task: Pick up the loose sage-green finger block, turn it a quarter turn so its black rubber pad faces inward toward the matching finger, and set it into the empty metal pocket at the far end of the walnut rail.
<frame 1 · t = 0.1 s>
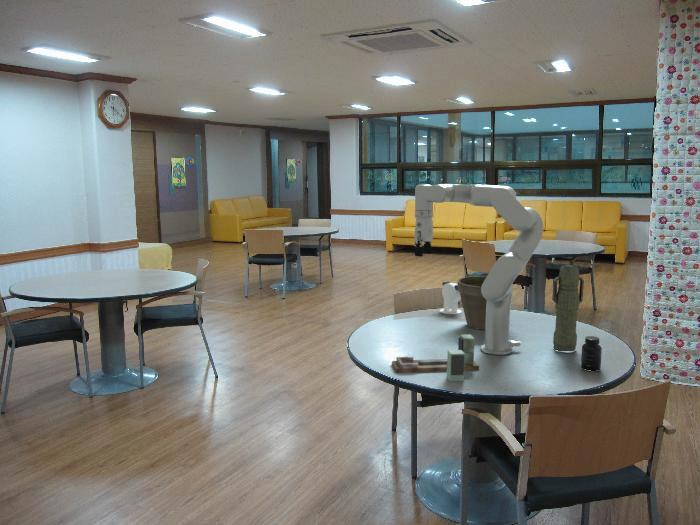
hand: (423, 254, 250), 37 cm above the table, tool pointing down, fingers open, 9 cm apart
finger rail: (434, 367, 221), on the table
thermos: (564, 350, 242), on the table
plant pot: (482, 326, 278), on the table
loose finger: (455, 379, 209), on the table
supplement bottle: (590, 369, 220), on the table
white rounded piece: (451, 312, 306), on the table
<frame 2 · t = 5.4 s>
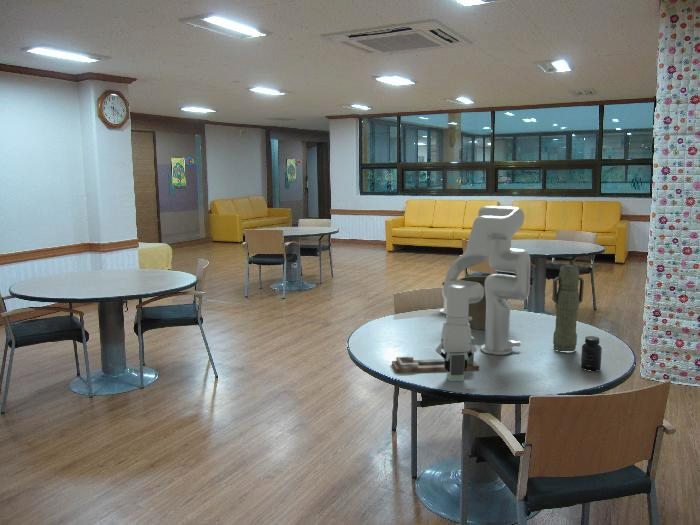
hand: (455, 369, 208), 3 cm above the table, tool pointing down, fingers closed on loose finger, 5 cm apart
loose finger: (455, 379, 209), on the table, touching gripper
everything else where it was.
when the fingers open (6 cm above the table, at t = 11.4 s): loose finger stays where it is, resting on finger rail.
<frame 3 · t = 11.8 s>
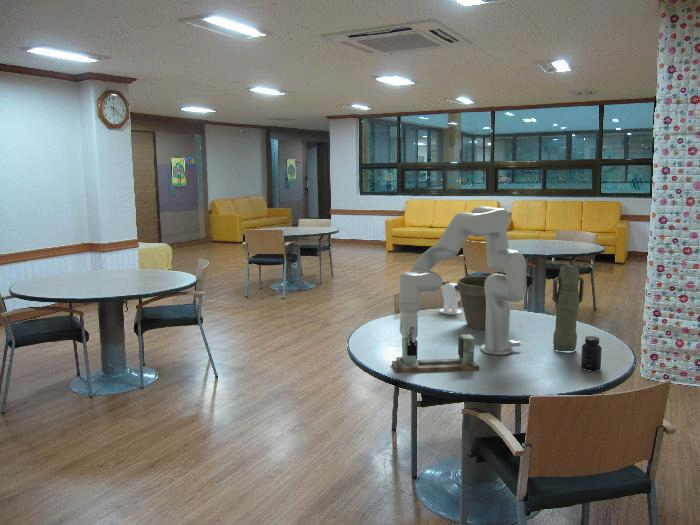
hand: (408, 351, 219), 6 cm above the table, tool pointing down, fingers open, 8 cm apart
loose finger: (408, 364, 220), point 1 cm above the table, touching finger rail
everything else where it was.
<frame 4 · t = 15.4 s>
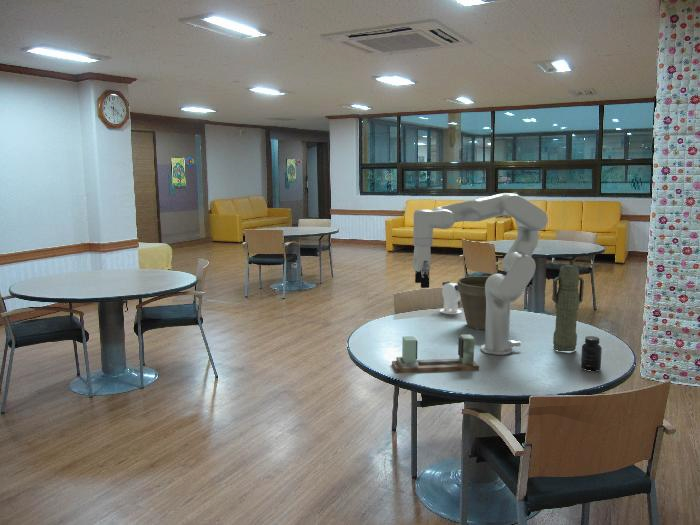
hand: (422, 285, 231), 28 cm above the table, tool pointing down, fingers open, 9 cm apart
nothing on the table moved.
at the end: loose finger 0.1 cm from the target spot on the finger rail, point 1.5 cm above the finger rail's base; loose finger tilted 0°; the gripper is holding nothing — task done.
